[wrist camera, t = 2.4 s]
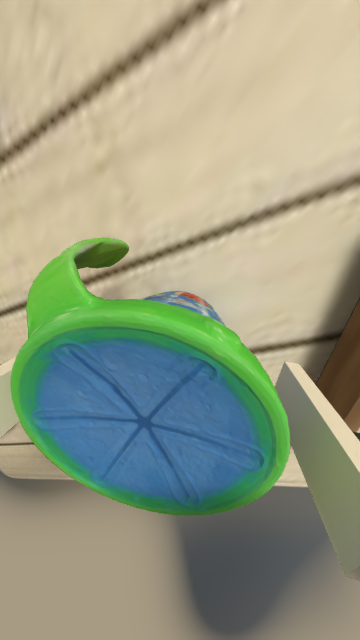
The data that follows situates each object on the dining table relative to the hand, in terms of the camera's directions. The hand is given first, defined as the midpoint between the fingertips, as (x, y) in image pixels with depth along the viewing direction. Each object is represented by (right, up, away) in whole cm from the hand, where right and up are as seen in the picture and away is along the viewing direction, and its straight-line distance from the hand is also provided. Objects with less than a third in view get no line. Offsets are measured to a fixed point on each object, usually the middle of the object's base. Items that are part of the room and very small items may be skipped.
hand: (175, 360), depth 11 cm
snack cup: (0, +2, +5) cm, 5 cm away
